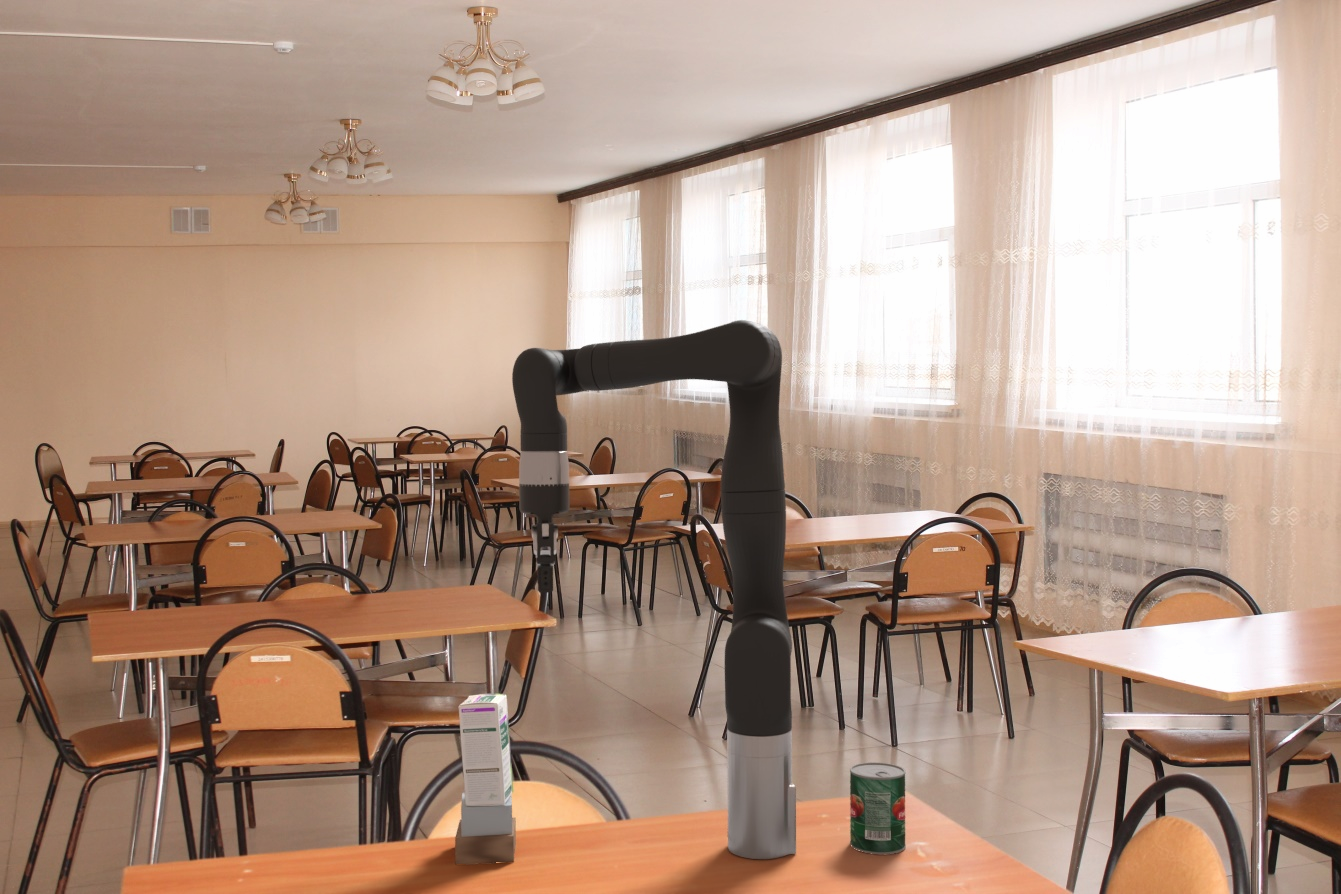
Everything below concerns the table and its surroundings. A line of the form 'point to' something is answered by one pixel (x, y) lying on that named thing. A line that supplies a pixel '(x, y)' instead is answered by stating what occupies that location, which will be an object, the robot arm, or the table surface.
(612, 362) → the robot arm
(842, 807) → the table surface
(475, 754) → the syrup box
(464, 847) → the tower base
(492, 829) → the tower top
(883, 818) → the canned tomato
